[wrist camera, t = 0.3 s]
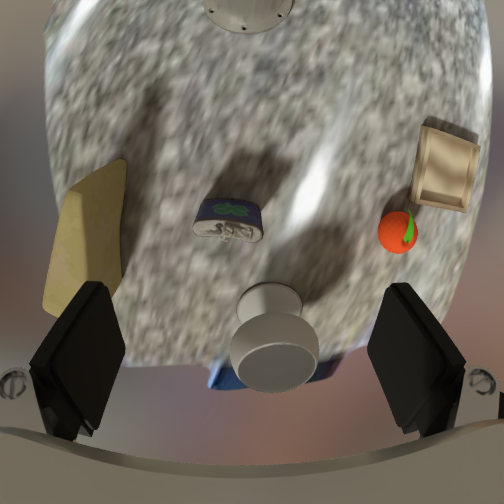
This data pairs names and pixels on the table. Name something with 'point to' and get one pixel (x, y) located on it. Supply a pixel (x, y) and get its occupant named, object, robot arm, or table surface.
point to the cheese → (87, 237)
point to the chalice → (273, 340)
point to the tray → (443, 170)
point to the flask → (229, 220)
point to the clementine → (397, 232)
